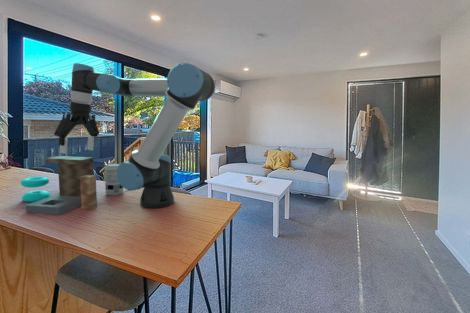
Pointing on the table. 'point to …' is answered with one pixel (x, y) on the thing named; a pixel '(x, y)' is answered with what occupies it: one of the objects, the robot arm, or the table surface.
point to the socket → (54, 205)
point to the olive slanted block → (71, 173)
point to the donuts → (35, 195)
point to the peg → (88, 192)
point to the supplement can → (112, 180)
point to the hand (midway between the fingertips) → (77, 151)
